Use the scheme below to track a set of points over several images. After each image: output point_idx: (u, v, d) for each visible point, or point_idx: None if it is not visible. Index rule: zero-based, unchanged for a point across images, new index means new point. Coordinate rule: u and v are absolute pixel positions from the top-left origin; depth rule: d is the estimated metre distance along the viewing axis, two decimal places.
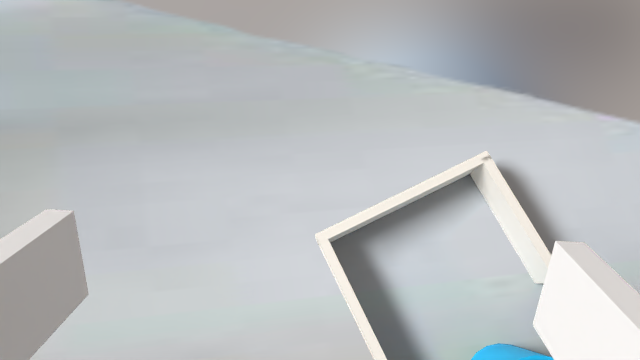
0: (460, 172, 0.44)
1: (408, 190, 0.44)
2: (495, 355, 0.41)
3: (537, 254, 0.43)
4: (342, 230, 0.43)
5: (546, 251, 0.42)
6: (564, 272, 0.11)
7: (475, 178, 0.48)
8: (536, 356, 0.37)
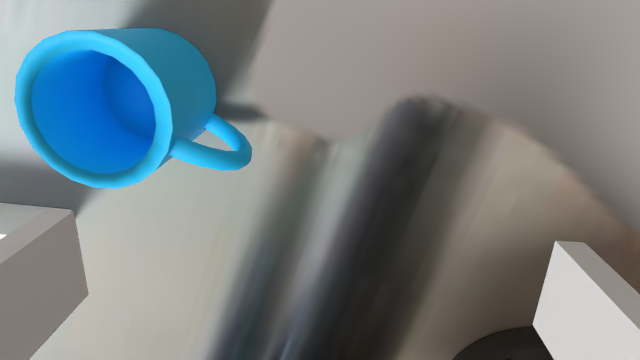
0: None
1: None
2: None
3: None
4: None
5: None
6: (564, 272, 0.11)
7: None
8: (18, 76, 0.21)
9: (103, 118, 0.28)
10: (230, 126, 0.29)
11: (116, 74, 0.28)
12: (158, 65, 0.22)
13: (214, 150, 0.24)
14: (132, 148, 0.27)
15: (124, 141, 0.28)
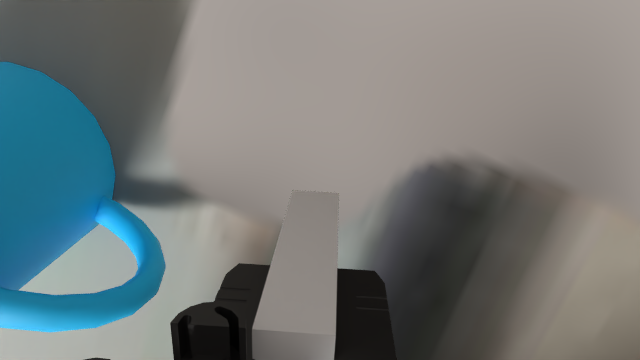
0: None
1: None
2: None
3: None
4: None
5: None
6: None
7: None
8: None
9: None
10: (134, 220, 0.17)
11: None
12: None
13: (65, 300, 0.12)
14: None
15: None
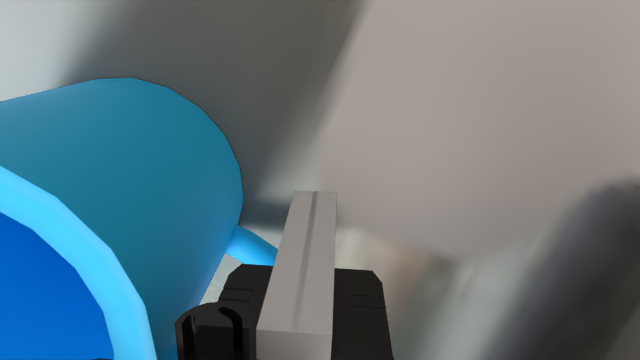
0: None
1: None
2: None
3: None
4: None
5: None
6: None
7: None
8: None
9: (32, 257, 0.15)
10: (273, 251, 0.15)
11: None
12: (110, 199, 0.09)
13: None
14: (88, 318, 0.14)
15: (75, 298, 0.15)
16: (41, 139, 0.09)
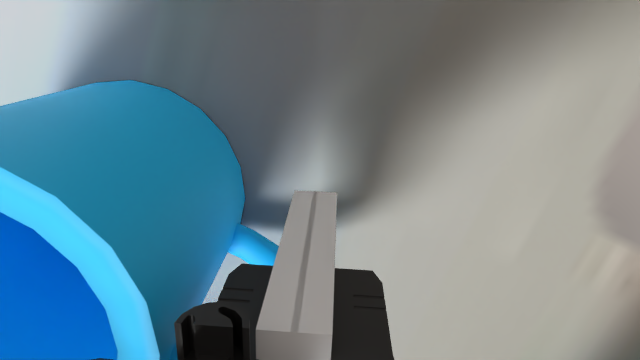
0: None
1: None
2: None
3: None
4: None
5: None
6: None
7: None
8: None
9: (37, 260, 0.15)
10: (275, 249, 0.15)
11: None
12: (110, 198, 0.09)
13: None
14: (94, 319, 0.14)
15: (81, 300, 0.15)
16: (41, 140, 0.09)
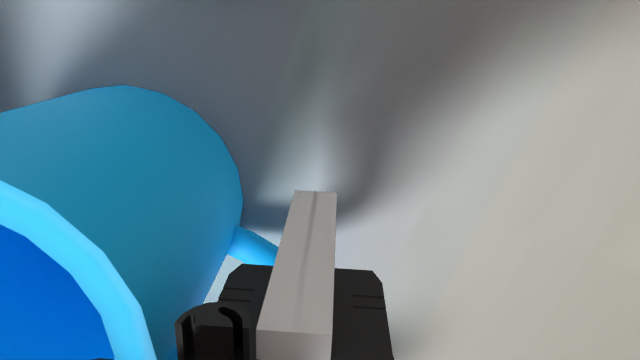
0: None
1: None
2: None
3: None
4: None
5: None
6: None
7: None
8: None
9: (37, 268, 0.15)
10: (275, 250, 0.15)
11: None
12: (103, 203, 0.09)
13: None
14: (94, 325, 0.14)
15: (82, 306, 0.15)
16: (32, 147, 0.09)
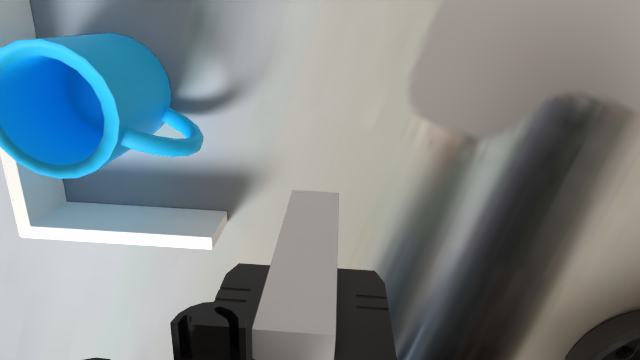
0: None
1: None
2: None
3: None
4: (23, 205, 0.31)
5: None
6: None
7: None
8: None
9: (68, 118, 0.31)
10: (184, 118, 0.31)
11: (77, 77, 0.31)
12: (102, 65, 0.25)
13: (161, 138, 0.27)
14: (95, 143, 0.30)
15: (88, 137, 0.31)
16: (78, 44, 0.25)
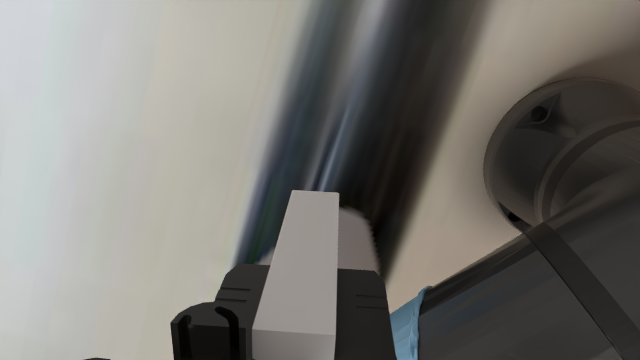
0: None
1: None
2: None
3: None
4: None
5: None
6: None
7: None
8: None
9: None
10: None
11: None
12: None
13: None
14: None
15: None
16: None
